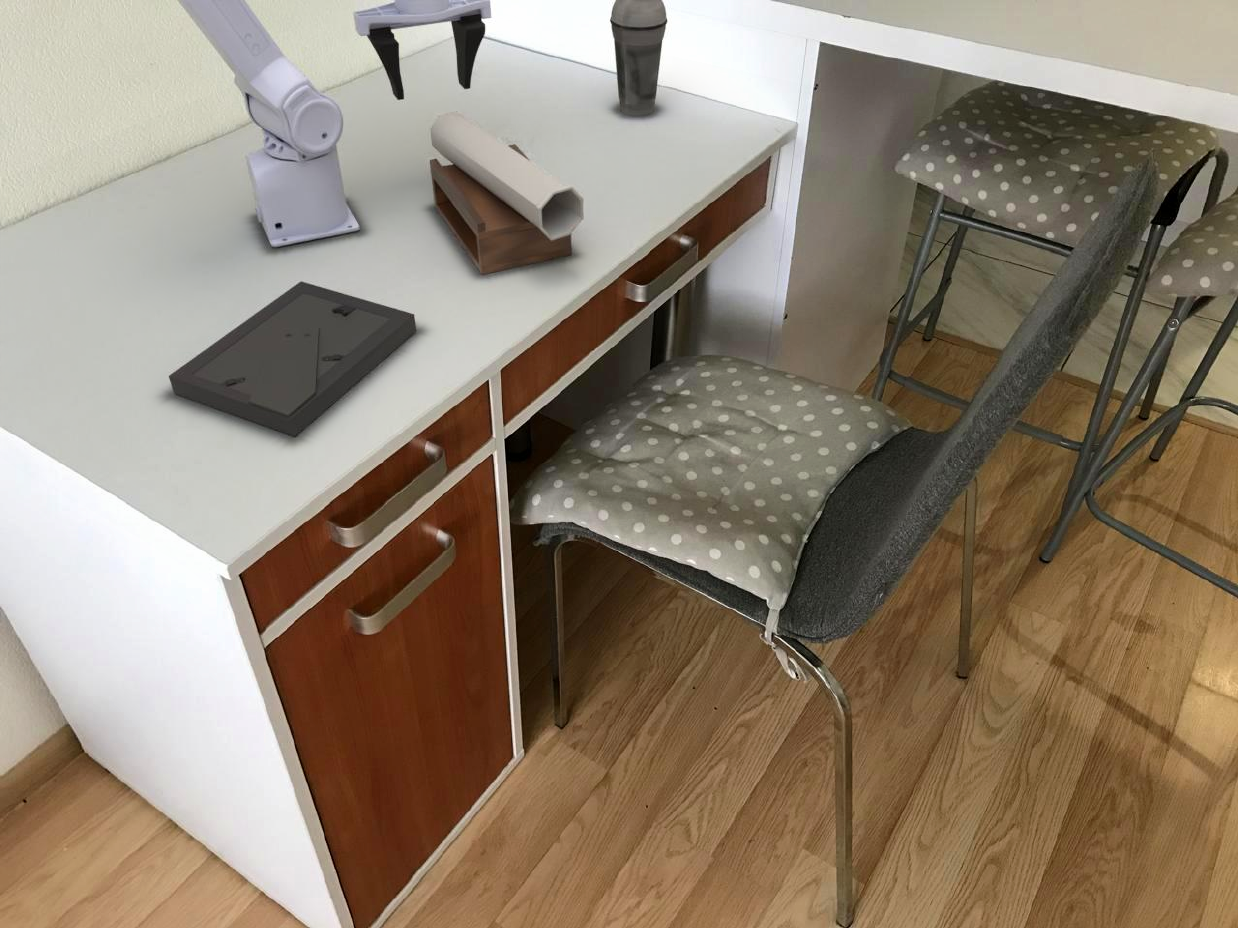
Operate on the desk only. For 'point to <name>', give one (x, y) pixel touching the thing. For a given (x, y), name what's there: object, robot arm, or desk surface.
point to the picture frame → (294, 357)
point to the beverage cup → (638, 52)
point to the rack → (490, 223)
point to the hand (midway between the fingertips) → (432, 91)
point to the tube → (508, 175)
